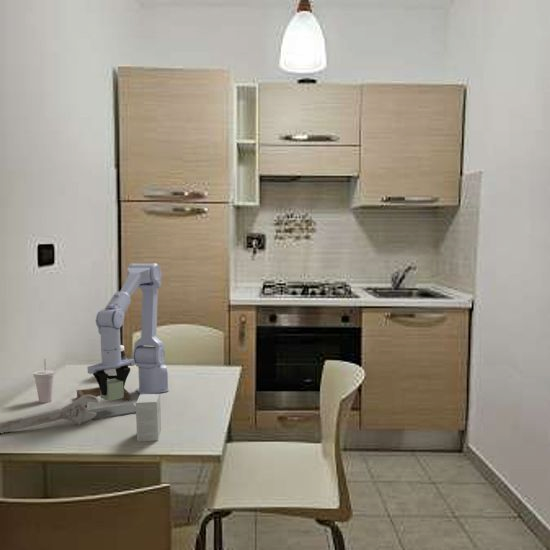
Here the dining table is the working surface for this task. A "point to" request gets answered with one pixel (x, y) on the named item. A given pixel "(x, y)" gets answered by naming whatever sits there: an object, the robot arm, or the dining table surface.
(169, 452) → the dining table surface
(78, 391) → the wooden u-shaped frame
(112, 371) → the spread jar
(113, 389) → the cube
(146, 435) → the small box
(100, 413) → the mat
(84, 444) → the dining table surface
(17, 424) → the wrench
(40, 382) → the smoothie
